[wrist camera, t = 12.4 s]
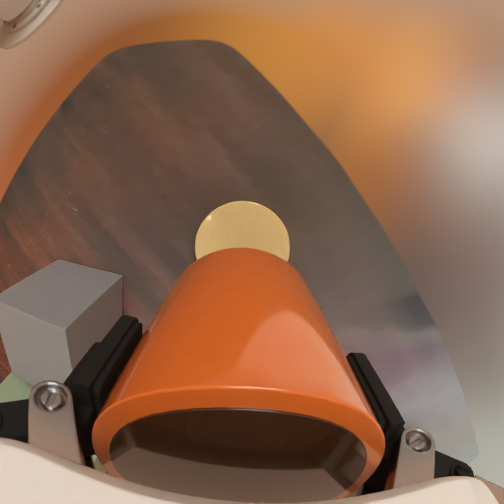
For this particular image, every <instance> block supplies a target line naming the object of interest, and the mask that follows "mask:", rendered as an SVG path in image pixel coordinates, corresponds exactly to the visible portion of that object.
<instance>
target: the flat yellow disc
mask: <svg viewBox="0 0 504 504" xmlns="http://www.w3.org/2000/svg"><path fill="white" fill-rule="evenodd" d="M228 248H252V249H258V250H262V251H266V252H269V253H271V254H274V255H276V256H278V257H280V258H281V259H283V260H285V261H286V262H288V258H289V253H290V242H289V236H288V233H287V230H286V228H285V226H284V224H283V223H282V221H281V220H280V218H279V217H278V216H277V215H276V214H275V213H274V212H273V211H272V210H270V209H269V208H267V207H266V206H264V205H262V204H259V203H257V202H253V201H246V200H238V201H232V202H228V203H225V204H223V205H221V206H219V207H217V208H216V209H214V210H213V211H212V212H211V213H210V214H209V215H208V216H207V217H206V218H205V219H204V221H203V222H202V224H201V225H200V227H199V229H198V232H197V235H196V239H195V254H196V259H197V260H198V259H199V258H201V257H203V256H205V255H207V254H210V253H212V252H215V251H218V250H222V249H228Z"/></svg>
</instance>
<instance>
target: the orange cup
mask: <svg viewBox="0 0 504 504" xmlns="http://www.w3.org/2000/svg"><path fill="white" fill-rule="evenodd" d="M92 445H93V449H94V452H95V454H96V456H97V458H98V460H99V461H100V463H101V464H102V466H103V467H104V468H105V470H106V471H107V472H108V473H109V474H110V475H111V476H114V477H117V478H121V479H124V480H127V481H130V482H134V483H137V484H141V485H144V486H148V487H152V488H156V489H160V490H164V491H169V492H173V493H178V494H184V495H189V496H195V497H202V498H209V499H217V500H226V501H237V502H254V503H296V502H313V501H325V500H334V499H342V498H344V497H346V496H347V495H349V494H350V493H352V492H353V491H355V490H356V489H357V488H359V487H360V486H361V485H362V484H363V483H365V482H366V481H367V480H368V479H369V478H370V476H371V475H372V474H373V473H374V472H375V471H376V469H377V467H378V466H379V464H380V463H381V460H382V458H383V455H384V451H385V436H384V433H383V431H382V428H381V426H380V424H379V422H378V420H377V418H376V416H375V414H374V412H373V410H372V408H371V406H370V403H369V401H368V399H367V397H366V395H365V393H364V391H363V389H362V387H361V385H360V383H359V381H358V379H357V377H356V375H355V373H354V371H353V369H352V368H351V366H350V364H349V362H348V360H347V358H346V356H345V354H344V352H343V350H342V348H341V346H340V344H339V342H338V340H337V339H336V337H335V335H334V333H333V331H332V329H331V327H330V325H329V323H328V321H327V320H326V318H325V316H324V314H323V312H322V310H321V308H320V307H319V305H318V303H317V301H316V299H315V297H314V295H313V294H312V292H311V290H310V288H309V286H308V285H307V283H306V281H305V280H304V278H303V277H302V276H301V274H300V273H299V272H298V271H297V270H296V269H295V268H294V267H293V266H292V265H290V264H289V263H288V262H286V261H285V260H283V259H281V258H280V257H278V256H276V255H274V254H271V253H269V252H266V251H262V250H258V249H252V248H228V249H222V250H218V251H215V252H212V253H210V254H207V255H205V256H203V257H201V258H199V259H198V260H196V261H195V262H193V263H192V264H191V265H189V266H188V267H187V268H186V269H185V270H184V271H183V272H182V273H181V275H180V276H179V277H178V279H177V280H176V282H175V283H174V285H173V287H172V288H171V290H170V291H169V293H168V295H167V296H166V298H165V299H164V301H163V303H162V304H161V306H160V307H159V309H158V311H157V312H156V314H155V316H154V317H153V319H152V321H151V322H150V324H149V326H148V327H147V329H146V331H145V332H144V334H143V336H142V337H141V339H140V341H139V342H138V344H137V346H136V348H135V349H134V351H133V353H132V354H131V356H130V358H129V360H128V361H127V363H126V365H125V367H124V368H123V370H122V372H121V374H120V376H119V377H118V379H117V381H116V383H115V385H114V386H113V388H112V390H111V392H110V394H109V395H108V397H107V399H106V401H105V403H104V405H103V407H102V409H101V410H100V412H99V414H98V416H97V418H96V420H95V422H94V425H93V428H92Z"/></svg>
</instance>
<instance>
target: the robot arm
mask: <svg viewBox="0 0 504 504" xmlns="http://www.w3.org/2000/svg"><path fill="white" fill-rule="evenodd" d="M49 1H50V0H0V19H2V20H3V29H4V31H6V32H8V33H14V32H16V31H18V30H20V29H22V28H23V27H25V26H26V25H27V24H29V23H30V22H31V21H32V20H33V19H34V18H35V17H36V16H37V15H38V14H39V13H40V12H41V11H42V10H43V9H44V8H45V6H46V5H47V4H48V3H49ZM141 337H142V323H139V322H138V319H137V318H135V317H131V316H127V315H122V316H121V317H120V318H119V320H118V321H117V322H116V323H115V325H114V326H113V327H112V328H111V330H110V331H109V332H108V333H107V335H106V336H105V337H104V338H103V340H102V341H101V342H95V343H94V344H93V345H92V346H91V348H90V349H89V350H88V351H87V353H86V354H85V355H84V357H83V358H82V359H81V360H80V362H79V363H78V364H77V366H76V367H75V368H74V370H73V371H72V372H71V373H70V375H69V376H68V377H67V379H66V380H65V381H64V383H60V382H58V381H53V380H47V381H42V382H39V383H37V384H36V385H35V386H33V388H32V389H31V391H30V395H29V399H24V400H17V401H10V402H2V403H0V504H504V489H503V488H502V487H500V486H498V485H496V484H493V483H491V482H489V481H487V480H485V479H483V478H481V477H479V476H477V475H476V476H475V477H474V474H473V471H472V469H471V468H470V467H469V466H468V465H467V464H466V463H464V462H461V461H459V460H457V459H454V458H452V457H449V456H447V455H445V454H442V453H440V452H438V451H436V450H435V442H434V439H433V437H432V436H431V435H430V433H429V432H427V431H426V430H424V429H422V428H419V427H409V428H407V429H404V427H403V425H404V424H405V422H404V420H403V418H402V416H401V415H400V413H399V411H398V409H397V408H396V406H395V404H394V402H393V401H392V399H391V397H390V396H389V394H388V392H387V390H386V389H385V387H384V385H383V384H382V382H381V380H380V379H379V377H378V375H377V374H376V372H375V370H374V369H373V367H372V365H371V364H370V362H369V360H368V359H367V357H366V355H365V354H363V353H349V354H348V356H346V358H347V360H348V362H349V364H350V366H351V368H352V369H353V371H354V373H355V375H356V377H357V379H358V381H359V383H360V385H361V387H362V389H363V391H364V393H365V395H366V397H367V399H368V401H369V403H370V406H371V408H372V410H373V412H374V414H375V416H376V418H377V420H378V422H379V424H380V426H381V428H382V431H383V433H384V436H385V451H384V455H383V458H382V460H381V463H380V464H379V466H378V467H377V469H376V471H375V472H374V473H373V474H372V475H371V476H370V478H369V479H368V480H367V481H366V482H365V483H363V484H362V485H361V486H360V487H359V488H358V490H357V493H356V496H355V497H349V498H342V499H334V500H325V501H313V502H296V503H254V502H237V501H226V500H217V499H209V498H202V497H195V496H189V495H184V494H178V493H173V492H169V491H164V490H160V489H156V488H152V487H148V486H144V485H141V484H137V483H134V482H130V481H127V480H124V479H121V478H117V477H114V476H111V475H108V474H106V473H103V472H100V471H97V470H95V466H94V462H93V458H92V455H95V452H94V449H93V445H92V428H93V425H94V422H95V420H96V418H97V416H98V414H99V412H100V410H101V409H102V407H103V405H104V403H105V401H106V399H107V397H108V395H109V394H110V392H111V390H112V388H113V386H114V385H115V383H116V381H117V379H118V377H119V376H120V374H121V372H122V370H123V368H124V367H125V365H126V363H127V361H128V360H129V358H130V356H131V354H132V353H133V351H134V349H135V348H136V346H137V344H138V342H139V341H140V339H141Z"/></svg>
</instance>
